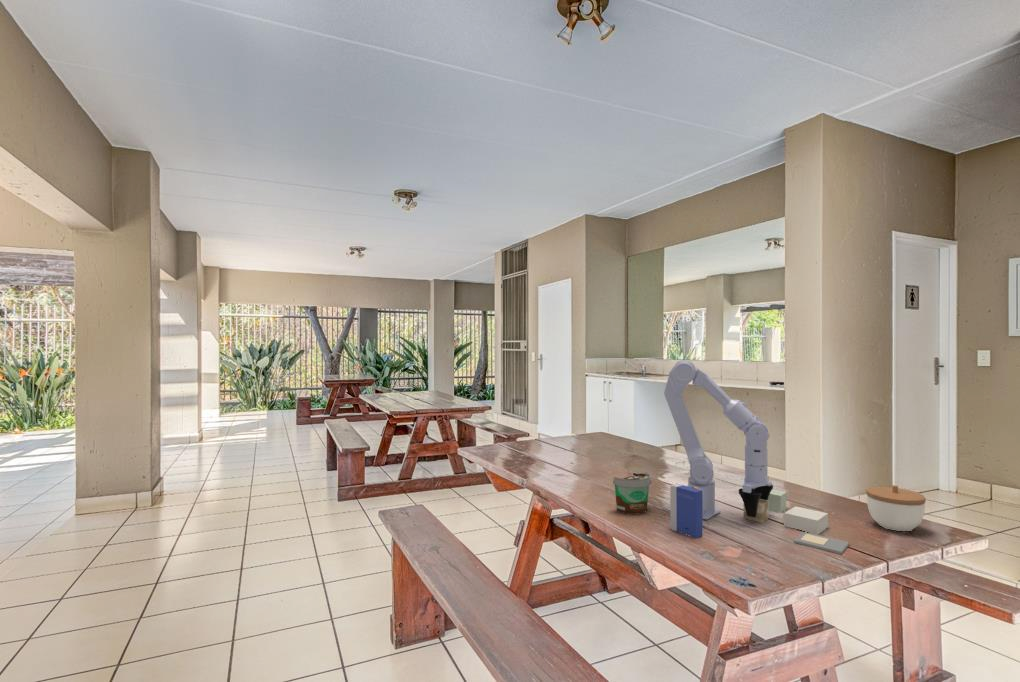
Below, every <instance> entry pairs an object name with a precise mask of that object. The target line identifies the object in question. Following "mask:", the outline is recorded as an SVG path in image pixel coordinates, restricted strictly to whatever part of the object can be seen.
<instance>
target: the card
mask: <svg viewBox="0 0 1020 682" xmlns="http://www.w3.org/2000/svg"><path fill="white" fill-rule="evenodd" d="M794 542H795V543H794ZM793 543H794V544H797V543H798V545H801V546H805V547H810V548H814V549H818V550H822V551H826V552H830V553H833V554H834V553H835V554H839V555H842V554H843V553H844V552H845V550H846V549H847V548H848V547H849V546H850V541H845V540H841V539H838V538H833V537H829V536H824V535H821V534H819V535H816V534H812V533H807V532H803V531H802V533H800V534H799V535H798V536H797V537H796V538H795V539H794V540H793Z"/></svg>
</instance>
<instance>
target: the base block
mask: <svg viewBox="0 0 1020 682" xmlns="http://www.w3.org/2000/svg"><path fill="white" fill-rule="evenodd" d="M783 519H784V520H783V523H784V526H787V527H791V528H795V529H799V530H802V531H801V532H803V531H805V532H809V533H813V534H816V535H821V534H822V532H824V531H825V530H826V528H827V529H828V528H829V513H828V512H823V511H819V510H814V509H810V508H805V507H801V506H793V507H792V508H791V509H788V510H787V511H785V512H784V515H783ZM787 527H786V528H787ZM791 528H790V529H791ZM795 529H794V530H795ZM799 530H798V531H799Z"/></svg>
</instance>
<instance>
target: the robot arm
mask: <svg viewBox="0 0 1020 682" xmlns="http://www.w3.org/2000/svg"><path fill="white" fill-rule="evenodd" d="M666 380H667V381H666V384H665V389H664V397H665V398H664V399H665V400H666V402H667V406H668V407H669V410H670V413H671V416H672V418H673V422H674V423H675V426H676V428H677V431H678V434H679V437H680V439H681V442H682V444H683V447H684V449H685V453H686V457H687V461H688V463H689V468H690V469H689V475H690V476H689V477H687V478H688V479H687V480H688V481H687V483H688V484H687V486H688V487H692V488H693V487H696V488H699V490H702V520H706V521H707V520H709V519H711V518H713V517H715V516H716V515H718V514H719V513H721V510H720V509H718V508H716V481H715V479H714V475H715V474H714V473H715V472H714V469H713V468H714V466H713V463H712V460H711V459H710V458H709V457H708V456H707V455H706V453H705V450H704V449H703V447H702V445H701V441H700V439H699V435H698V434H697V431H696V428H695V425H694V423H693V421H692V418H691V416H690V413H689V410H688V407H687V405H686V403H685V400H684V398H683V393H684V392H685V389H686V387H688V385H689V384H690V383H691V382H692V385H693V386H697V387H701V388H703V389H704V390H705V391H706V392H707V394H709V395H710V396H711V397H712V398H713V399H714V400H716V402H717V403H719V404H720V405H721V406H722V414H723V415H724V416H725V417H726V418H727V419H728V420H729V421H730V422H731V424H733V425H734V426H735V427H736V428H737V429H738V430H740V431H741V432H743V434H744V436H745V446H744V478H743V484H742V488H739V489H738V494H739V496H740V497H741V500H742V502H743V507H744V506H745V510H746V514H747V516H750V517H756V514H757V506H758V502H759V499H763V500H768V497H769V494H770V492H771V490H774V485H773V481H769V480H770V479H769V478H770V477H769V475H768V461H769V460H768V459H769V458H768V451H769V450H768V447H767V446H768V440H769V437H770V433H769V429H768V427H767V426H766V425H765V424H764V423H763V421H762V420H760V417H759V416H758V415H754V413H752V411H751V410H750V409H749V408H747V406H748V405H747V404H746V402H744V401H741V400H739V399H731V397H730V396H728V394H727V393H726V392H724V390H723V389H722V388H721V387H720V386H719V385H718V384H717V383H716V382H715V380H713V378H711V377H710V376H709V375H708V374H707V373H706V372H705V371H704V370H702V369H700V367H698V366H695V364H694V363H693V362H692V361H690V360H687V359H681V360H679V361H677V362H676V363H675V364H674V366H673V367H672V369H670V371H669V373H668V377H667V379H666Z"/></svg>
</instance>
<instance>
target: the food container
mask: <svg viewBox="0 0 1020 682" xmlns="http://www.w3.org/2000/svg"><path fill="white" fill-rule="evenodd" d="M652 482H653V481H652V478H651V475H650V474H649V473H647V472H645V474H644V475H640V476H632V475H631V476H626V477H624V478H620V477H616V476H614V477H613V480H612V485H614V490H615V491H614V492H615V502H616V503H615V504H616V505H615V506H616V511H618V512H619V511H620V512H619V513H623V512H624V513H623V514H628V513H630V515H637V514H636V513H641V514H644V513H646V512H647V511H648V503H649V501H648V500H649V491H650V490H649V489H650V486H651V485H652ZM645 511H646V512H645ZM643 512H644V513H643Z"/></svg>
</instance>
